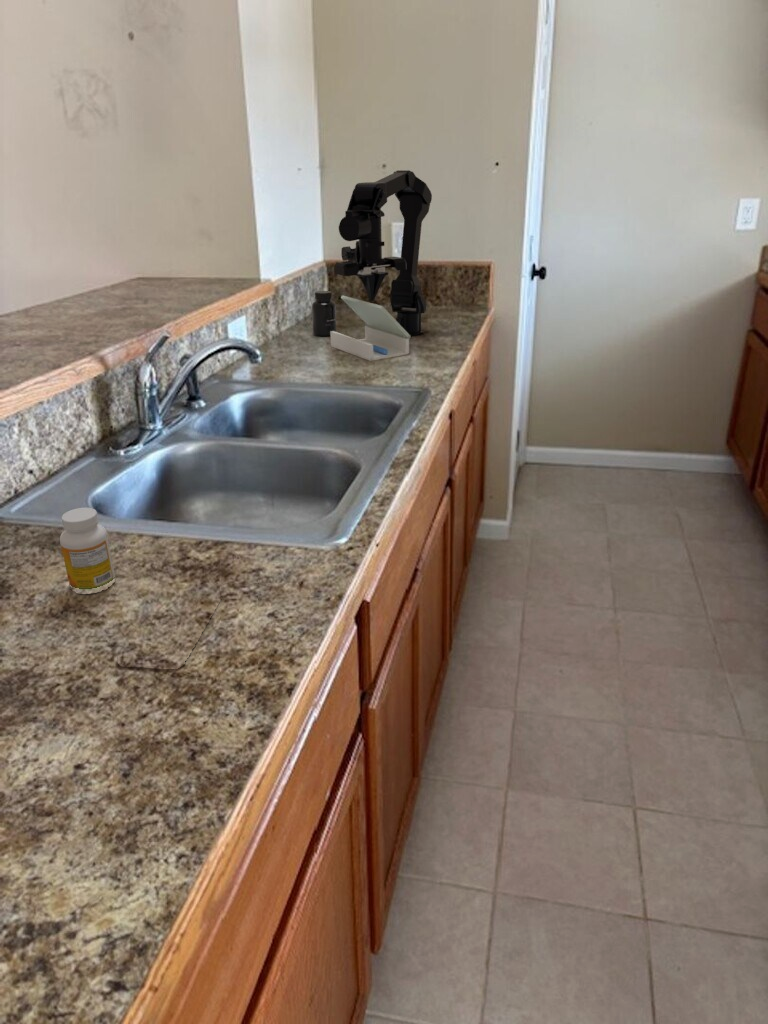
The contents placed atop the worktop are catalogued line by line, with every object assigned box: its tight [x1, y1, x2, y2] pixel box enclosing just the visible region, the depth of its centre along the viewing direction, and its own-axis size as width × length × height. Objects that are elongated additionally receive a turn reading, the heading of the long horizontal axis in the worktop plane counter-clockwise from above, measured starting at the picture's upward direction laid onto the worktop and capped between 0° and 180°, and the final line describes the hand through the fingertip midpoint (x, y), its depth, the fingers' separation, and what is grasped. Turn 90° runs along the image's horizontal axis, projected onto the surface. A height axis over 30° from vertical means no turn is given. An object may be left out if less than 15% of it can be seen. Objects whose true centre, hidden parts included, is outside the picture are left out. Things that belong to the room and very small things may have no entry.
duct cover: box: [340, 295, 411, 340], centre depth 201 cm, size 12×20×1 cm
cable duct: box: [329, 325, 410, 362], centre depth 203 cm, size 12×20×4 cm, turn 33°
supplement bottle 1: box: [59, 507, 116, 589], centre depth 93 cm, size 5×5×10 cm
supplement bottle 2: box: [311, 290, 337, 337], centre depth 219 cm, size 7×7×12 cm
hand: (371, 300), depth 199 cm, fingers closed
